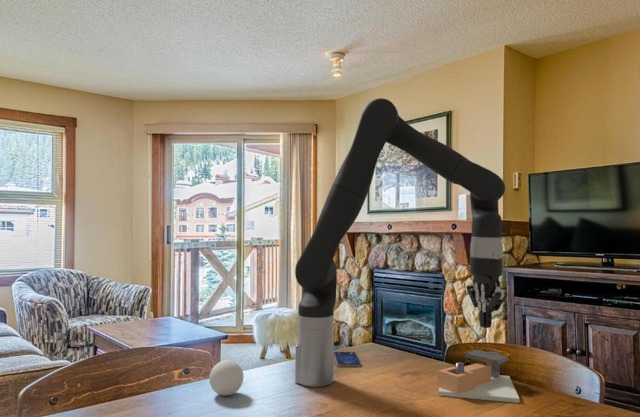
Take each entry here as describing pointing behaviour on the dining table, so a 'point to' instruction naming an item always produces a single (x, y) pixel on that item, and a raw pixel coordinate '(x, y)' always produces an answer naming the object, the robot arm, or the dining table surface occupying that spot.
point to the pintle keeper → (487, 357)
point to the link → (464, 377)
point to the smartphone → (346, 359)
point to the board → (489, 391)
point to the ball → (226, 377)
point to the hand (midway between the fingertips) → (485, 327)
